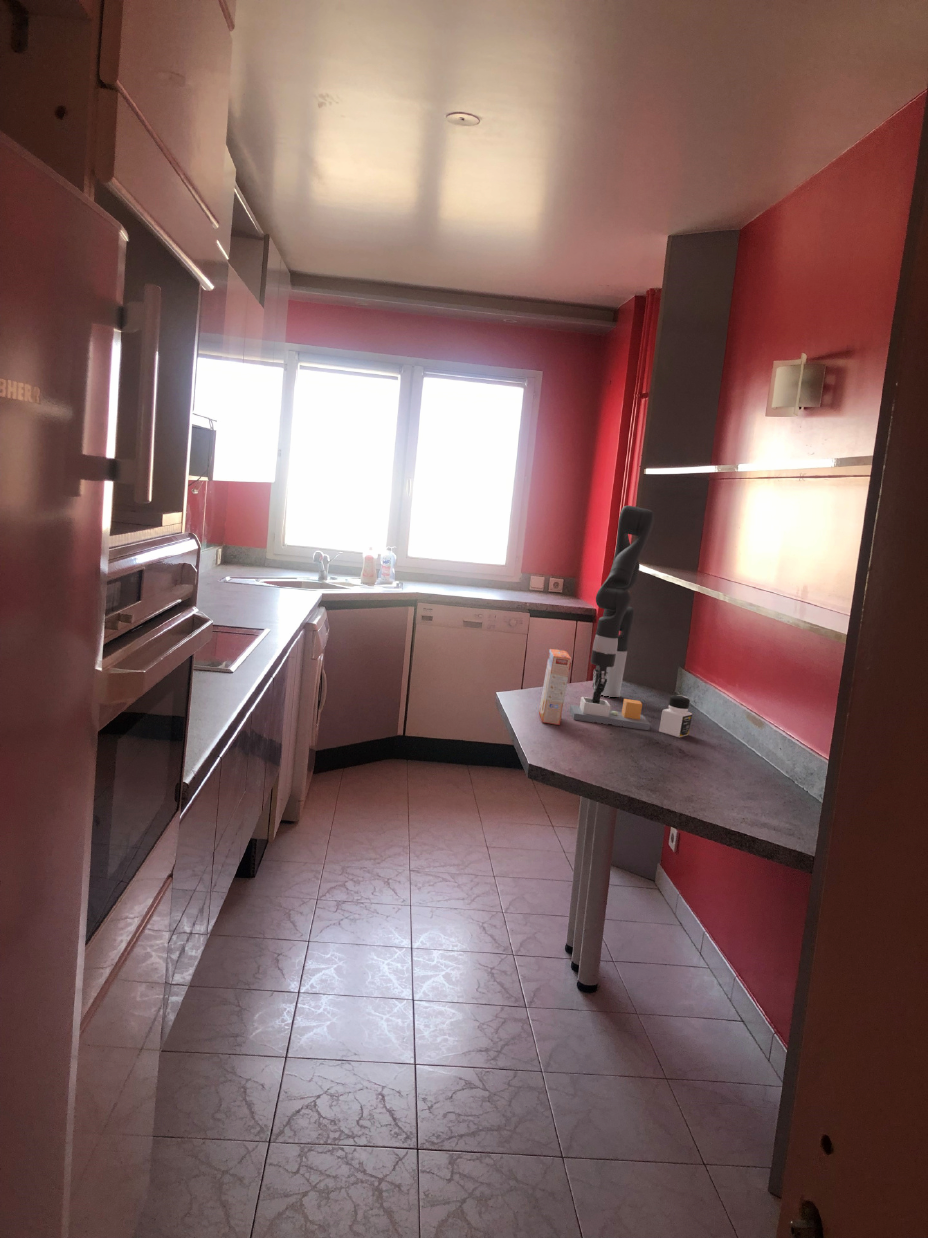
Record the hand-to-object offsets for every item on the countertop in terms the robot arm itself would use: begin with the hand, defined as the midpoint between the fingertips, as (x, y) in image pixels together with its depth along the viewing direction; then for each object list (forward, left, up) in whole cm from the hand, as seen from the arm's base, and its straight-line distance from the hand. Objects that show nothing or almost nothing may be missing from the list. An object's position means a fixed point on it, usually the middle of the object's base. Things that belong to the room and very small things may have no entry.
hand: (595, 703), depth 286 cm
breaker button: (0, 0, -2) cm, 2 cm away
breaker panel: (0, +5, -5) cm, 7 cm away
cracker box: (+10, -15, -5) cm, 19 cm away
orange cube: (-1, +12, -3) cm, 12 cm away
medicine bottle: (+5, +25, -5) cm, 26 cm away
